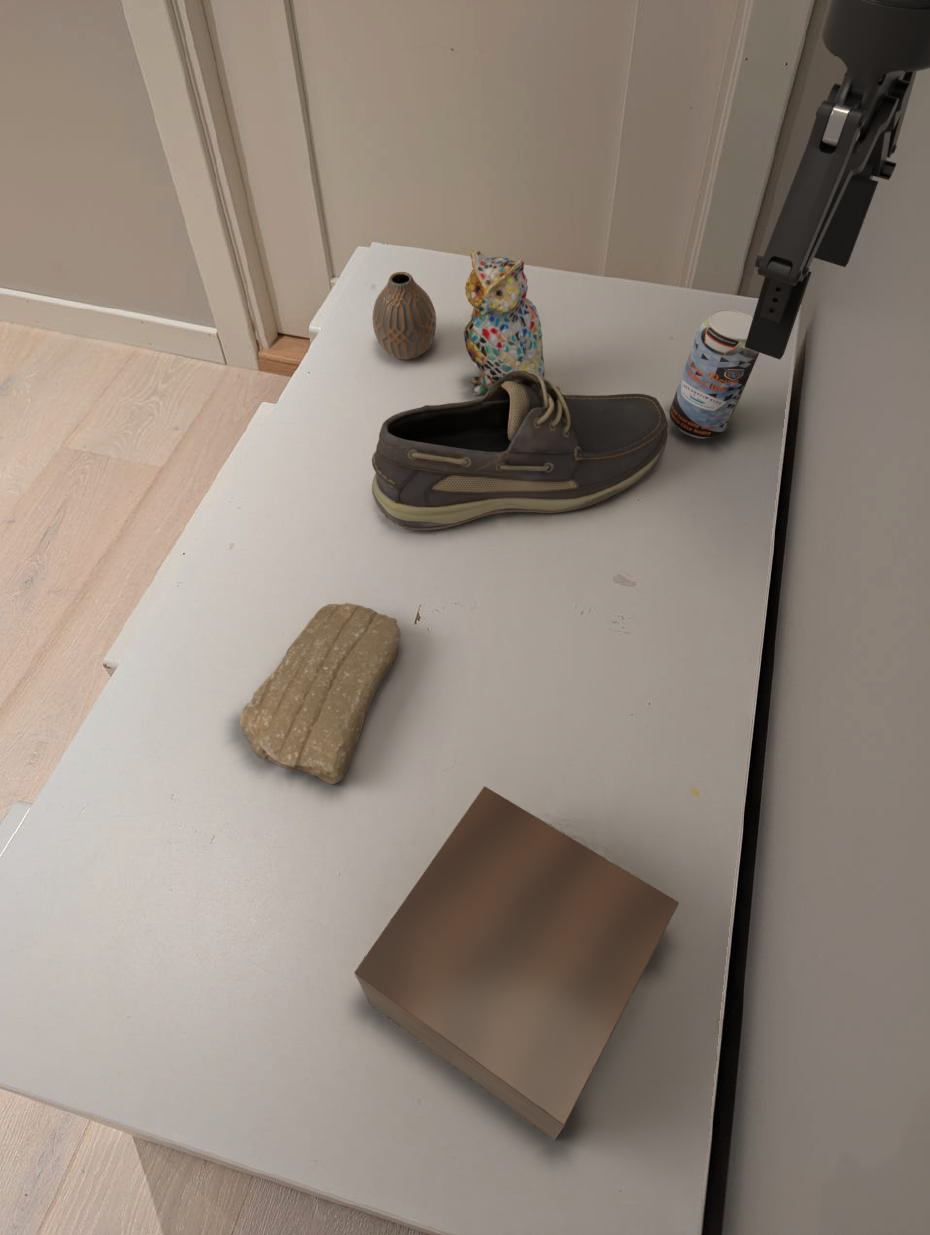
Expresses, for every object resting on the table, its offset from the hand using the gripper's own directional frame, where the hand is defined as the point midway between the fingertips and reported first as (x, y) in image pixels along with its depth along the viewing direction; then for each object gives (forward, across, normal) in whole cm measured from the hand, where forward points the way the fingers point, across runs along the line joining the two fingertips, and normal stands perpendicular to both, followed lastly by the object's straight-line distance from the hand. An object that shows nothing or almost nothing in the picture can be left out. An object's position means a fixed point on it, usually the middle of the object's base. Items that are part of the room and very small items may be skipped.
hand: (798, 303), depth 66 cm
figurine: (+21, -1, -27) cm, 34 cm away
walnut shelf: (+21, +48, +5) cm, 53 cm away
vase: (+21, -1, -40) cm, 45 cm away
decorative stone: (+21, +39, -19) cm, 48 cm away
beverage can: (+21, -7, -7) cm, 23 cm away
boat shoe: (+21, +10, -18) cm, 29 cm away
